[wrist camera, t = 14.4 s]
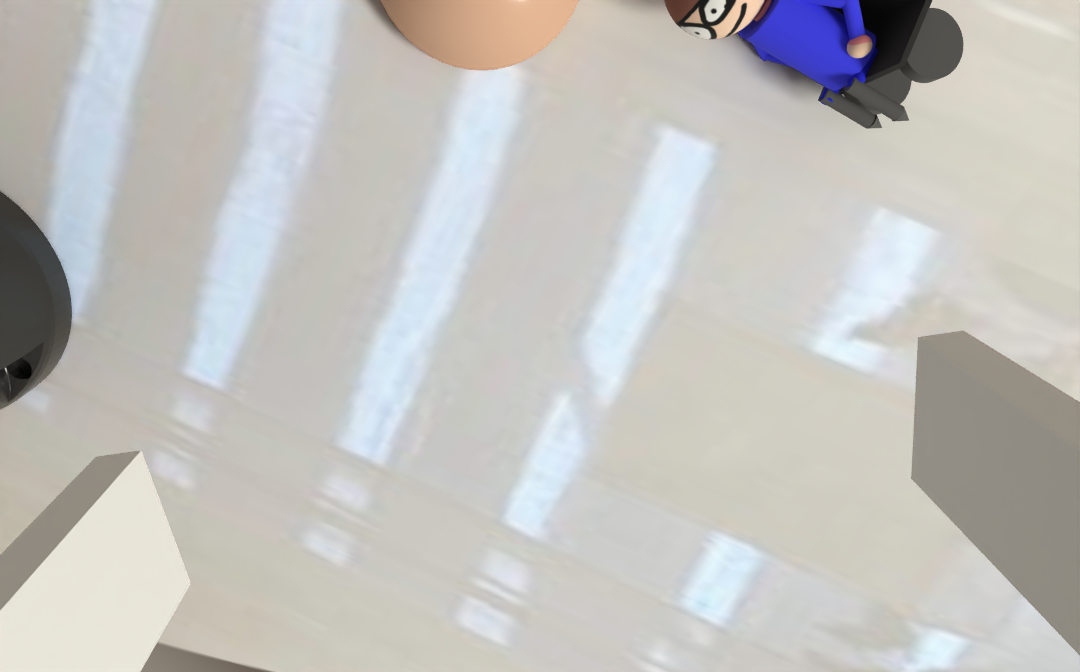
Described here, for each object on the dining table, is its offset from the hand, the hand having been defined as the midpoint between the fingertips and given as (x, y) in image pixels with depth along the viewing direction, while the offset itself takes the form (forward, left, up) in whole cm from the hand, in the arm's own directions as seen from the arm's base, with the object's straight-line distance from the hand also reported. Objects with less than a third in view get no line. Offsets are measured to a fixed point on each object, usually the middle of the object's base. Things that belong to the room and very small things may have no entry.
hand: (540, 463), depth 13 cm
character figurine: (+16, +6, -33) cm, 37 cm away
